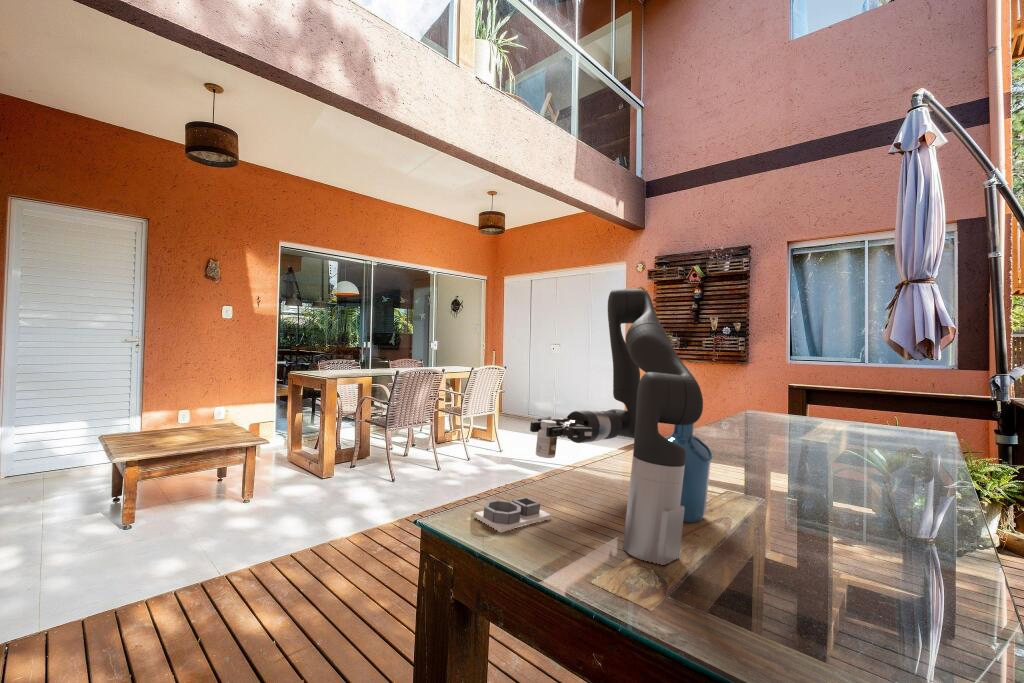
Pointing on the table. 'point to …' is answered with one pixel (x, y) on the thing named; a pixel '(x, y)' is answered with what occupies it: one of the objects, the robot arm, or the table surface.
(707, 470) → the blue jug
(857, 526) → the table surface
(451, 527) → the table surface
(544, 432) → the pill bottle
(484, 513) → the socket board
